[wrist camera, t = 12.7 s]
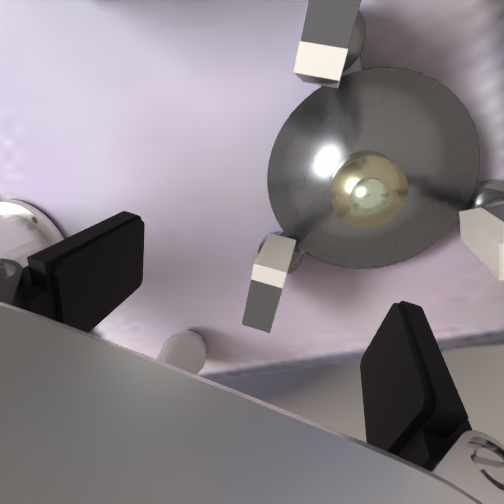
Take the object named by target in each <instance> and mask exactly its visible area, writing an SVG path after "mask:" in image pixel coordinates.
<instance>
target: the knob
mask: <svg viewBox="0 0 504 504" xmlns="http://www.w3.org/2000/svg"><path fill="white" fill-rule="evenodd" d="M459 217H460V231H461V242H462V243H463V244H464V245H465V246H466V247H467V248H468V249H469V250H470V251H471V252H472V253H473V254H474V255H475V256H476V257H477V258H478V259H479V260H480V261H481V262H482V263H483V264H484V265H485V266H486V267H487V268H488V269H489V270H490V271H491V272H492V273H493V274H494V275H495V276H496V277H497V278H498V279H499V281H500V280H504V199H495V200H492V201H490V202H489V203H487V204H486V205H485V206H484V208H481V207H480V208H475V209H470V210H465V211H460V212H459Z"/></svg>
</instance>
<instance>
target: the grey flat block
mask: <svg viewBox="0 0 504 504" xmlns="http://www.w3.org/2000/svg"><path fill="white" fill-rule="evenodd" d="M295 243H296V240H294V239H290V238H286V237H283V236H279V235H275V234H271V233H270V234H269V236H268V237H267V239H266V241H265V243H264V245H263V247H262V249H261V251H260V253H259V255H258V257H257V259H256V261H255V262H254V266H253V270H252V275H251V284H250V289H249V293H248V298H247V303H246V308H245V313H244V317H243V322H242V324H243V325H246V326H249V327H252V328H255V329H259V330H262V331H265V332H268V333H270V330H271V327H272V323H273V320H274V316H275V313H276V309H277V306H278V302H279V299H280V296H281V292H282V288H283V285H284V282H285V278H286V275H287V271H288V268H289V264H290V261H291V257H292V254H293V250H294V247H295Z"/></svg>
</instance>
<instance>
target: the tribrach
mask: <svg viewBox="0 0 504 504" xmlns="http://www.w3.org/2000/svg"><path fill="white" fill-rule="evenodd" d="M365 36H366V29H365V23H364V20H363V17H362V15H361V14H360V12H359V11H358V14H357V18H356V22H355V25H354V29H353V33H352V36H351V40H350V43H349V47H348V52H347V56H346V60H345V64H344V68H343V72H342V75H341V79H340V83H339V86H338V88H333V87H328V86H322V85H321V87H320V88H319V89H317V90H316V91H314V92H313V93H312V94H311V95H310V96H308V97H307V98H306V99H305V100H304V101H302V103H301V104H300V105H299V106H298V107H297V108H296V109H295V110H294V111H293V112H292V114H291V115H290V116H289V118H288V119H287V121H286V122H285V123H284V125H283V127H282V129H281V131H280V132H279V134H278V136H277V138H276V141H275V143H274V146H273V149H272V152H271V156H270V160H269V167H268V193H269V199H270V202H271V206H272V209H273V212H274V214H275V217H276V219H277V221H278V222H279V224H280V226H281V228H282V229H283V230H282V231H281V232H274V233H271V234H275V235H279V236H283V237H286V238H290V239H294V240H296V243H295V247H294V250H293V254H292V257H291V261H290V264H289V268H288V271H287V274H288V273H290V272H292V271H294V270H295V269H296V268H297V267H298V266H299V264H300V261H301V256H302V254H304V253H305V252H306V253H308V254H309V255H311V256H313V257H315V258H317V259H319V260H321V261H323V262H326V263H329V264H332V265H336V266H341V267H346V268H356V269H359V268H376V267H383V266H387V265H391V264H395V263H398V262H401V261H404V260H406V259H408V258H411V257H413V256H415V255H417V254H419V253H420V252H422V251H424V250H425V249H427V248H429V247H430V246H431V245H433V244H434V243H435V242H437V241H438V240H439V239H440V238H441V237H442V236H443V235H444V234H446V233H447V232H448V231H449V230H450V229H451V227H452V226H453V225H454V224H455V222H456V221H460V217H459V212H460V211H465V210H470V209H475V208H480V207H481V208H484V206H485V205H486V204H487V203H489V202H490V201H492V200H495V199H504V180H489V181H485V182H482V183H480V184H476V181H477V177H478V171H479V165H480V149H479V142H478V135H477V132H476V129H475V126H474V123H473V121H472V119H471V117H470V115H469V113H468V111H467V109H466V108H465V106H464V105H463V104H462V103H461V101H460V100H459V99H458V97H457V96H456V95H455V94H453V93H452V92H451V91H450V90H449V89H448V88H447V87H446V86H444V85H442V84H441V83H439V82H438V81H436V80H435V79H433V78H431V77H428V76H426V75H424V74H421V73H419V72H415V71H411V70H407V69H401V68H391V67H384V68H370V69H365V70H362V67H361V62H360V54H361V51H362V49H363V46H364V42H365ZM268 236H269V235H268ZM268 236H267V237H268ZM267 237H265V239H264V240H263V241H262V243H261V245H260V247H259V251H258V255H259V253H260V251H261V249H262V247H263V245H264V243H265V241H266V239H267Z"/></svg>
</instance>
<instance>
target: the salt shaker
mask: <svg viewBox="0 0 504 504" xmlns="http://www.w3.org/2000/svg"><path fill="white" fill-rule="evenodd" d="M205 359H206V344H205V342H204V340H203V339H202V337H201V335H200V334H198V333H195V332H193V331H190V330H186V331H183V332H181V333H178V334H176V335H173V336H172V337H170V338H169V339H168V340H167V341H166V342H165V343H164V345H163V347H162V349H161V352H160V354H159V356H158V358H157V360H159V361H162V362H164V363H167V364H169V365H172V366H174V367H177V368H180V369H182V370H185V371H187V372H190V373H192V374H195V375H197V373H198V372H199V371H200V370H201V369H202V367H203V365H204V362H205Z"/></svg>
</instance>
